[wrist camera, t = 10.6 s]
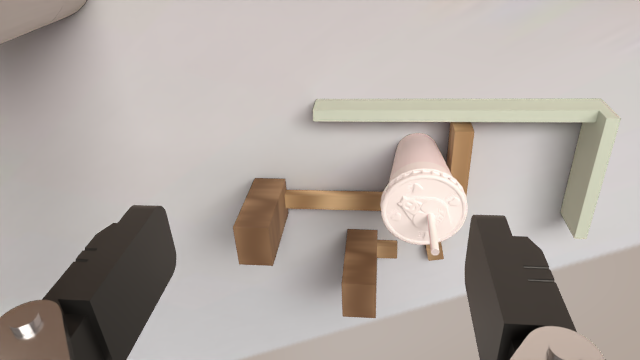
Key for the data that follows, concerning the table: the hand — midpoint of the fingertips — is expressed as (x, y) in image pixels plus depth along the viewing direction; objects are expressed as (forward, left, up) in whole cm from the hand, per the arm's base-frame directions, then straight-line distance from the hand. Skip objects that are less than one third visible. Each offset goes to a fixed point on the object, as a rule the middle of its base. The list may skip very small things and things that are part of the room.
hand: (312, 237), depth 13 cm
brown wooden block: (+3, -24, -30) cm, 39 cm away
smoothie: (+5, -13, -30) cm, 33 cm away
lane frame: (+8, -13, -30) cm, 34 cm away
